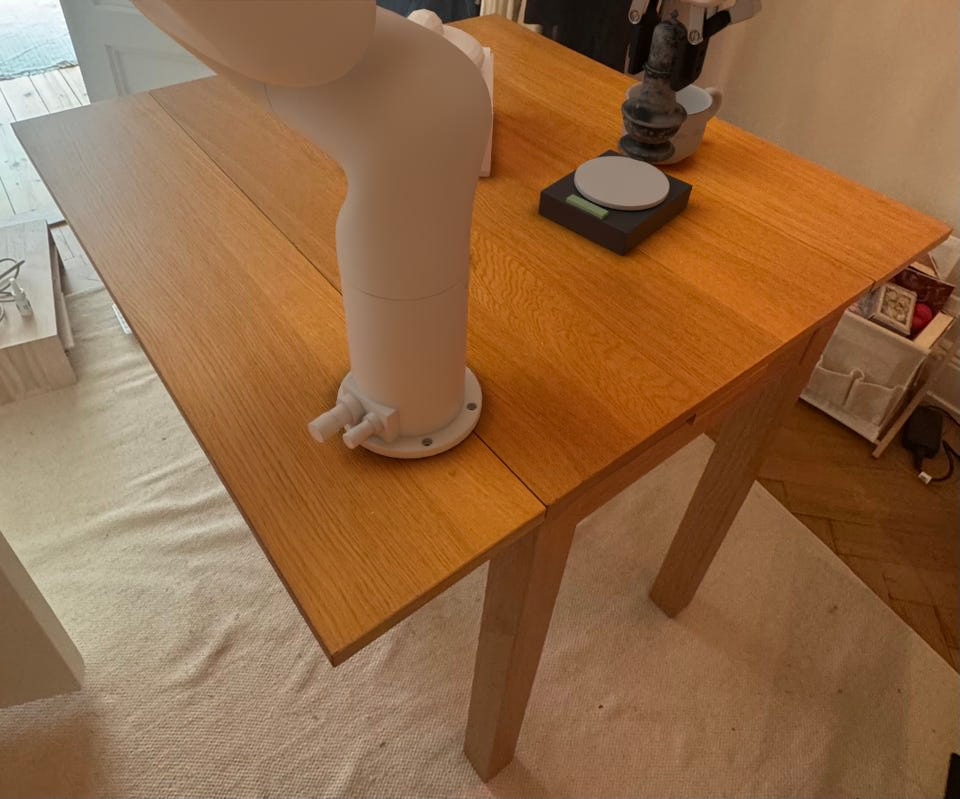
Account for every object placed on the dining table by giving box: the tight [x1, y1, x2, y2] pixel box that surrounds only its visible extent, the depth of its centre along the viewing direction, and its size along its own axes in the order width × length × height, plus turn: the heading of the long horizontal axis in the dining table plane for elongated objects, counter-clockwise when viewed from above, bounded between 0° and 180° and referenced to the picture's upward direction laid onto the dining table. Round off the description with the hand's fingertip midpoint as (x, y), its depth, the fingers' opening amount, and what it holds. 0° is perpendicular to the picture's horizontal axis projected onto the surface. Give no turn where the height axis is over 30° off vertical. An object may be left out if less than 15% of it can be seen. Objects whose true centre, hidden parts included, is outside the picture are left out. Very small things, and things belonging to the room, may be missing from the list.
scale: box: [537, 148, 694, 257], centre depth 86 cm, size 14×12×4 cm
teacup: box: [621, 81, 723, 165], centre depth 95 cm, size 14×11×8 cm
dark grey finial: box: [617, 8, 688, 163], centre depth 63 cm, size 6×6×12 cm
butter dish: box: [406, 8, 495, 178], centre depth 92 cm, size 18×18×16 cm
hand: (661, 75), depth 63 cm, fingers closed on dark grey finial, 3 cm apart
